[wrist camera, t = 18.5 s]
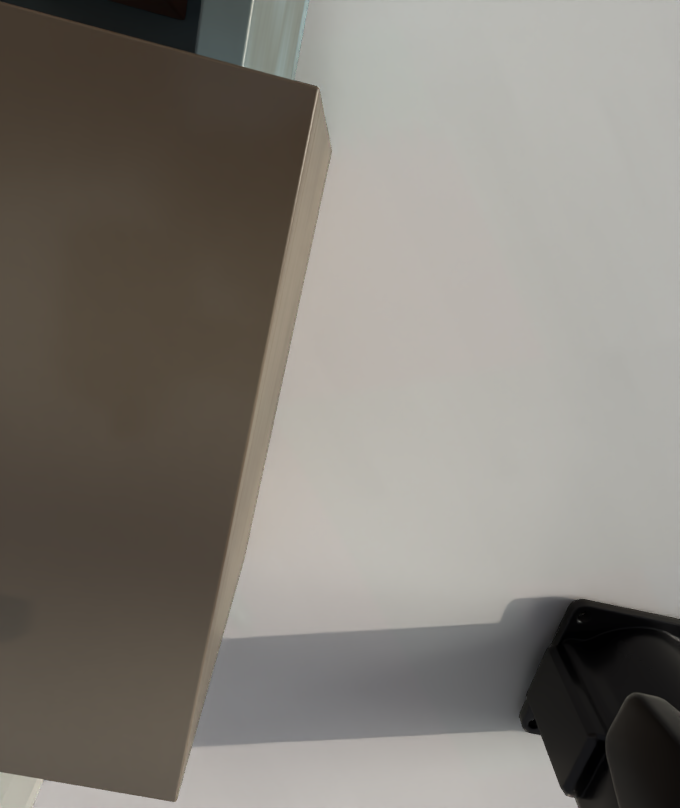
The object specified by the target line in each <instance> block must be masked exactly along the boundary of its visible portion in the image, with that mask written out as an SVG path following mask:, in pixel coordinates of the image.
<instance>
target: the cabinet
mask: <svg viewBox="0 0 680 808" xmlns="http://www.w3.org/2000/svg"><path fill="white" fill-rule="evenodd" d="M331 153H332V150H331V144H330V139H329V134H328V129H327V124H326V120H325V115H324V110H323V105H322V100H321V94H320V89H319V88H318V87H317V86H314V85H310V84H306V83H303V82H299V81H295V80H292V79H288V78H284V77H280V76H277V75H273V74H269V73H265V72H262V71H258V70H254V69H251V68H247V67H243V66H239V65H236V64H232V63H228V62H225V61H221V60H217V59H213V58H210V57H206V56H202V55H198V54H195V53H191V52H187V51H184V50H180V49H176V48H172V47H169V46H165V45H161V44H158V43H154V42H150V41H146V40H143V39H139V38H135V37H131V36H128V35H124V34H120V33H117V32H113V31H109V30H105V29H102V28H98V27H94V26H90V25H87V24H83V23H79V22H76V21H72V20H68V19H64V18H61V17H57V16H53V15H50V14H46V13H42V12H38V11H35V10H31V9H27V8H23V7H20V6H16V5H12V4H9V3H5V2H1V1H0V772H3V773H8V774H14V775H20V776H26V777H32V778H38V779H43V780H49V781H55V782H61V783H67V784H72V785H78V786H84V787H90V788H96V789H102V790H107V791H113V792H119V793H125V794H131V795H137V796H142V797H148V798H154V799H160V800H166V801H172V802H176V800H177V798H178V794H179V791H180V787H181V784H182V780H183V776H184V773H185V769H186V765H187V762H188V759H189V755H190V751H191V748H192V744H193V741H194V737H195V734H196V730H197V726H198V723H199V719H200V716H201V712H202V709H203V705H204V701H205V698H206V694H207V691H208V687H209V684H210V680H211V676H212V673H213V669H214V666H215V662H216V659H217V655H218V652H219V648H220V644H221V641H222V637H223V634H224V630H225V627H226V623H227V619H228V616H229V612H230V609H231V605H232V602H233V598H234V594H235V591H236V587H237V584H238V580H239V577H240V573H241V569H242V566H243V562H244V558H245V553H246V549H247V544H248V539H249V535H250V530H251V525H252V521H253V516H254V511H255V507H256V502H257V497H258V493H259V488H260V484H261V479H262V474H263V470H264V465H265V460H266V456H267V451H268V446H269V442H270V437H271V432H272V428H273V423H274V418H275V414H276V409H277V404H278V400H279V395H280V390H281V386H282V381H283V376H284V372H285V367H286V362H287V358H288V353H289V348H290V344H291V339H292V334H293V330H294V325H295V320H296V316H297V311H298V306H299V302H300V297H301V292H302V288H303V283H304V279H305V274H306V269H307V265H308V260H309V255H310V251H311V246H312V241H313V237H314V232H315V227H316V223H317V218H318V213H319V209H320V204H321V199H322V195H323V190H324V185H325V181H326V176H327V171H328V167H329V162H330V157H331Z"/></svg>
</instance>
